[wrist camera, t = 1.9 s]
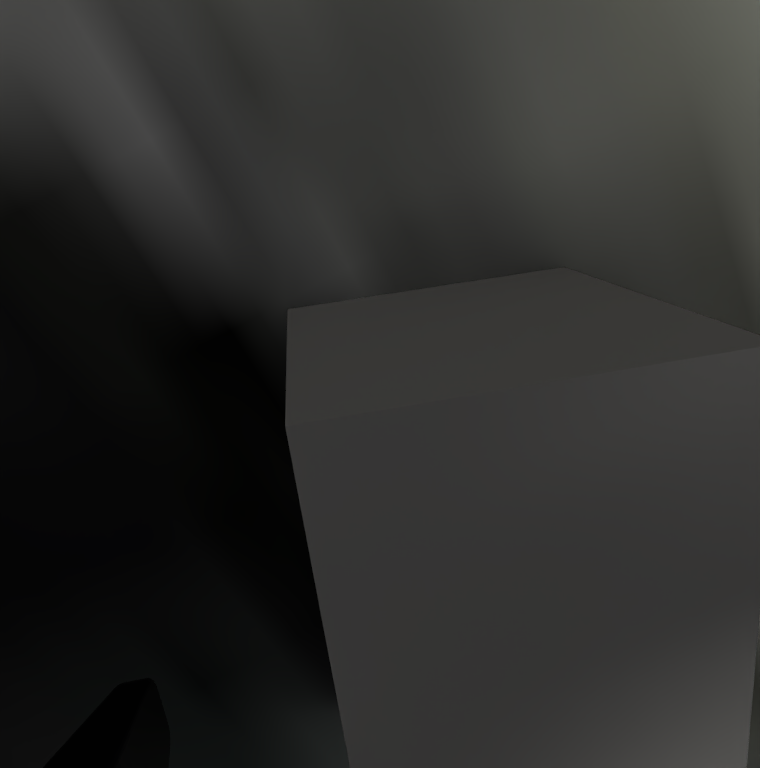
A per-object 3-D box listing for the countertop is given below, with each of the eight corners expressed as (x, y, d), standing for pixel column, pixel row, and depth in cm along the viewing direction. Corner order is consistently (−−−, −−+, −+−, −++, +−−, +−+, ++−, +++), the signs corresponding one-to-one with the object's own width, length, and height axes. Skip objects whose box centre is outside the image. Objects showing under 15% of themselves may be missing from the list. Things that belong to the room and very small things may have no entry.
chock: (354, 700, 13) (396, 1052, 8) (284, 307, 10) (277, 445, 5) (576, 655, 13) (757, 961, 8) (564, 265, 10) (822, 354, 5)
